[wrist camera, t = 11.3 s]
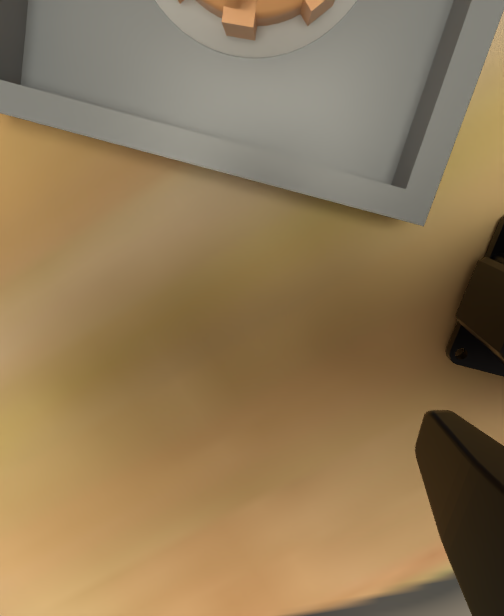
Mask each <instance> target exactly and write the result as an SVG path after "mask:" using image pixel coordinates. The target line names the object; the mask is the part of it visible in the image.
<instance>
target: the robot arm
mask: <svg viewBox="0 0 504 616" xmlns="http://www.w3.org/2000/svg"><path fill="white" fill-rule="evenodd" d="M456 318H457V320H458V321H457V324H456V326H455V329H454V331H453V333H452V336H451V338H450V341H449V343H448V345H447V348H446V354H447V356H448V358H449V359H450V360H451V361H452V362H453V363H455V364H457V365H461V366H465V367H469V368H473V369H477V370H481V371H485V372H489V373H492V374H496V375H500V376H504V217H503V218H502V219H501V220H500V222H499V223H498V226H497V228H496V231H495V233H494V235H493V238H492V240H491V243H490V245H489V247H488V250H487V252H486V255H485V257H484V258H482V259H481V260H479V261H478V262H477V265H476V267H475V270H474V272H473V274H472V277H471V279H470V282H469V284H468V287H467V289H466V291H465V294H464V296H463V299H462V301H461V303H460V306H459V308H458V311H457V313H456ZM460 348H464V351H463V353H462V354H461V355H459V356H455V352H456V351H457V350H458V349H460ZM415 453H416V458H417V462H418V465H419V469H420V472H421V475H422V479H423V482H424V485H425V489H426V492H427V495H428V499H429V502H430V505H431V509H432V512H433V515H434V519H435V522H436V525H437V529H438V532H439V535H440V538H441V541H442V543H443V546H444V549H445V551H446V554H447V556H448V559H449V561H450V563H451V566H452V568H453V571H454V573H455V576H456V578H457V580H458V583H459V585H460V588H461V590H462V592H463V595H464V597H465V600H466V602H467V604H468V607H469V609H470V612H471V614H472V616H504V446H503V445H501V444H500V443H498V442H497V441H495V440H494V439H492V438H491V437H489V436H488V435H486V434H485V433H483V432H482V431H480V430H479V429H478V428H476V427H475V426H473V425H472V424H470V423H469V422H467V421H466V420H464V419H463V418H461V417H460V416H458V415H457V414H455V413H454V412H452V411H449V410H431V411H428V412H426V414H425V415H424V418H423V421H422V424H421V428H420V431H419V435H418V438H417V441H416V447H415Z"/></svg>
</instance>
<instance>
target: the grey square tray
mask: <svg viewBox="0 0 504 616" xmlns="http://www.w3.org/2000/svg"><path fill="white" fill-rule="evenodd" d="M503 10H504V0H335V1H334V4H333V6H332V7H331V8H330V9H328V10H327V11H326V12H325V13H323V14H322V15H321V16H320V17H318V18H317V19H316V20H315V21H313V22H312V23H311V24H310V25H308V26H307V24H306V23H305V21H304V19H303V18H302V16H301V14H300V15H298V16H296V17H294V18H292V19H289V20H287V21H284V22H281V23H278V24H273V25H268V26H257V31H256V38H255V41H254V40H248V39H243V38H237V37H231V36H226V33H225V30H224V28H223V25H222V18H220V17H218V16H216V15H214V14H213V13H211V12H209V11H208V10H206V9H205V8H204V7H203V6H201V5H200V4H199V3H198V2H197V1H196V0H184V1H183V2H182V3H179V2H178V0H0V113H2V114H5V115H9V116H13V117H17V118H20V119H24V120H28V121H32V122H35V123H39V124H43V125H47V126H50V127H54V128H58V129H62V130H65V131H69V132H73V133H77V134H80V135H84V136H88V137H92V138H95V139H99V140H103V141H107V142H110V143H114V144H118V145H122V146H125V147H129V148H133V149H137V150H140V151H144V152H148V153H151V154H155V155H159V156H163V157H166V158H170V159H174V160H178V161H181V162H185V163H189V164H193V165H196V166H200V167H204V168H208V169H211V170H215V171H219V172H223V173H226V174H230V175H234V176H238V177H241V178H245V179H249V180H253V181H256V182H260V183H264V184H268V185H271V186H275V187H279V188H282V189H286V190H290V191H294V192H297V193H301V194H305V195H309V196H312V197H316V198H320V199H324V200H327V201H331V202H335V203H339V204H342V205H346V206H350V207H354V208H357V209H361V210H365V211H369V212H372V213H376V214H380V215H384V216H387V217H391V218H395V219H399V220H402V221H406V222H410V223H414V224H417V225H421V226H424V224H425V222H426V219H427V216H428V214H429V211H430V208H431V205H432V203H433V200H434V197H435V195H436V192H437V189H438V186H439V184H440V181H441V178H442V176H443V173H444V170H445V167H446V165H447V162H448V159H449V157H450V154H451V151H452V149H453V146H454V143H455V140H456V138H457V135H458V132H459V130H460V127H461V124H462V121H463V119H464V116H465V113H466V111H467V108H468V105H469V103H470V100H471V97H472V94H473V92H474V89H475V86H476V84H477V81H478V78H479V75H480V73H481V70H482V67H483V65H484V62H485V59H486V56H487V54H488V51H489V48H490V46H491V43H492V40H493V38H494V35H495V32H496V29H497V27H498V24H499V21H500V19H501V16H502V13H503Z"/></svg>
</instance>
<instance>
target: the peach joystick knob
mask: <svg viewBox="0 0 504 616" xmlns="http://www.w3.org/2000/svg"><path fill="white" fill-rule="evenodd" d="M183 1H184V0H178V2H179V3H182V2H183ZM196 1H197V2H198V3H199V4H200V5H201V6H203V7H204V8H205V9H206V10H208V11H209V12H211V13H213V14H214V15H216V16H218V17H220V18H222V25H223V28H224V30H225V33H226V36H231V37H237V38H243V39H248V40H254V41H255V38H256V31H257V26H268V25H273V24H278V23H281V22H284V21H287V20H289V19H292V18H294V17H296V16H298V15H300V14H301V16H302V18H303V19H304V21H305V23H306V24H307V26H308V25H310V24H311V23H312V22H313V21H315V20H316V19H317V18H318V17H320V16H321V15H322V14H323V13H325V12H326V11H327V10H328V9H330V8H331V7H332V6H333V4H334V1H335V0H196Z"/></svg>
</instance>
